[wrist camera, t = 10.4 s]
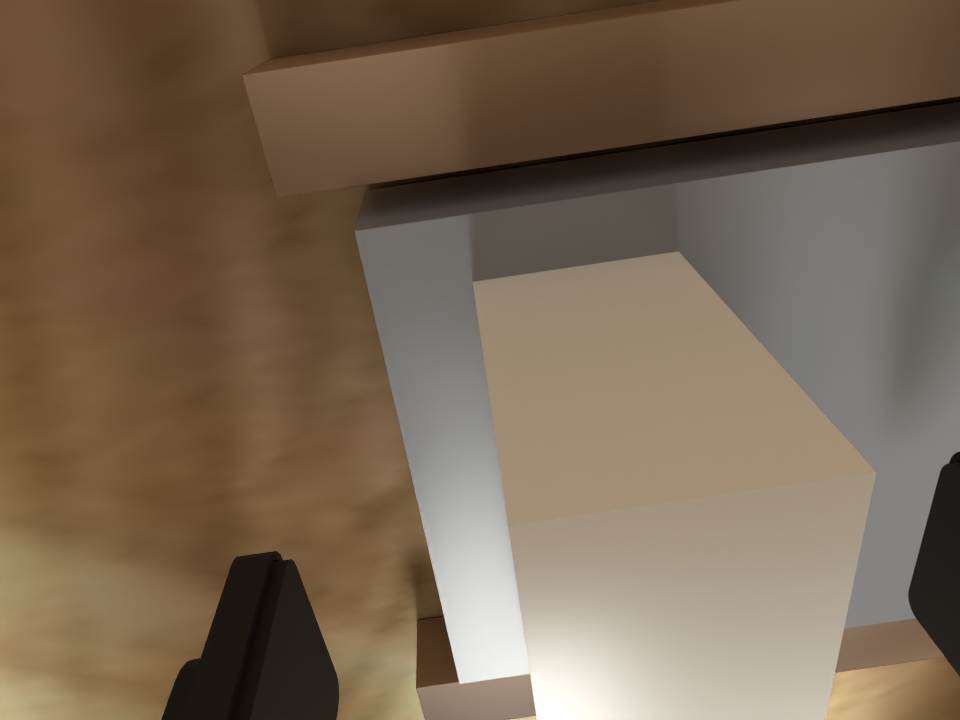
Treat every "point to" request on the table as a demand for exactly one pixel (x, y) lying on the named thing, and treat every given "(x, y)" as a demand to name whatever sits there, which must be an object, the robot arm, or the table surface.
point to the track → (594, 145)
